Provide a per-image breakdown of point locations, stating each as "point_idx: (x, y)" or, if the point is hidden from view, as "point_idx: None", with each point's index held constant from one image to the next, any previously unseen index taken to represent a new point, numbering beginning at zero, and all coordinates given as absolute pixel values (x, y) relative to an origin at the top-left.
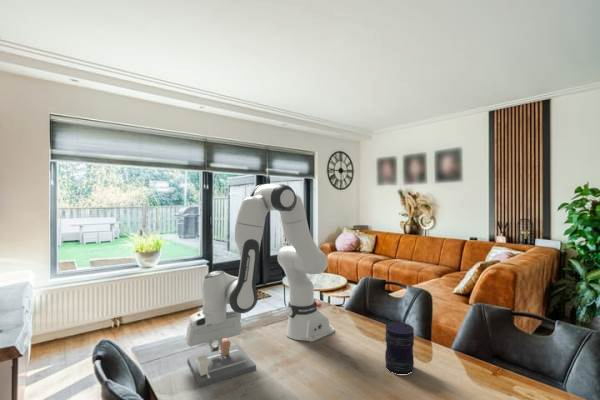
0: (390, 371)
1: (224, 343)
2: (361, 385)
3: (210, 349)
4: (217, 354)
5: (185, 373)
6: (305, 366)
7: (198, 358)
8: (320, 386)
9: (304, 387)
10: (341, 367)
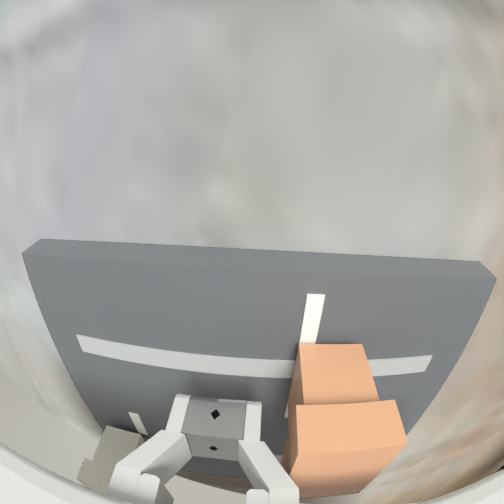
0: (501, 468)
1: (301, 496)
2: (450, 490)
3: (174, 403)
4: (259, 352)
5: (54, 351)
6: (467, 456)
7: (87, 485)
8: (411, 495)
9: (389, 498)
10: (491, 459)
